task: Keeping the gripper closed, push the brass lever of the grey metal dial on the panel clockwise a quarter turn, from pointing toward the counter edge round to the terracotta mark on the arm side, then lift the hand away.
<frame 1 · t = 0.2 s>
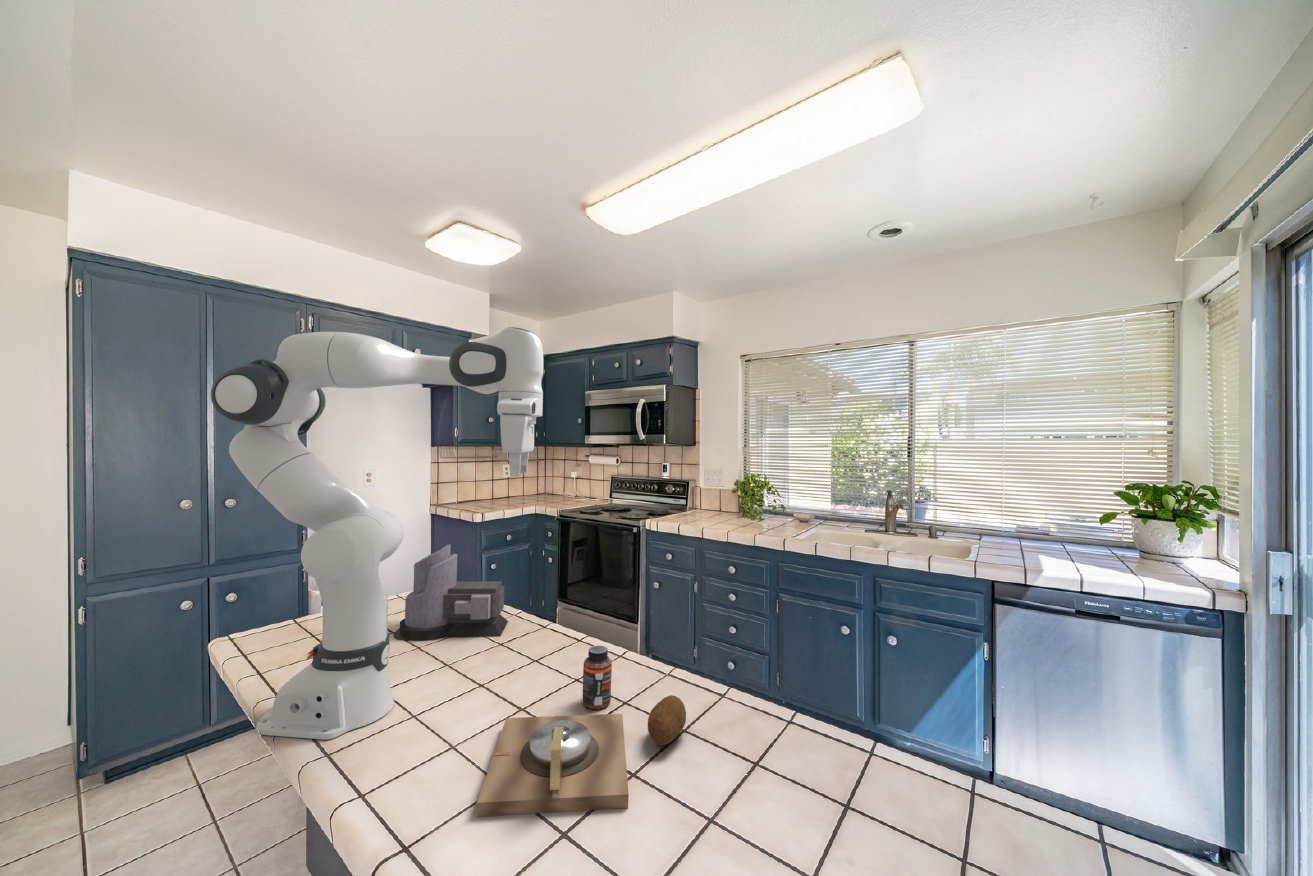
hand: (519, 474, 101), 48 cm above the countertop, fingers open, 8 cm apart
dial: (559, 739, 81), point 5 cm above the countertop, hinge at 0.0°
potato: (666, 739, 91), on the countertop
supplement bottle: (596, 704, 102), on the countertop
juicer: (451, 630, 141), on the countertop
panel: (559, 763, 83), on the countertop
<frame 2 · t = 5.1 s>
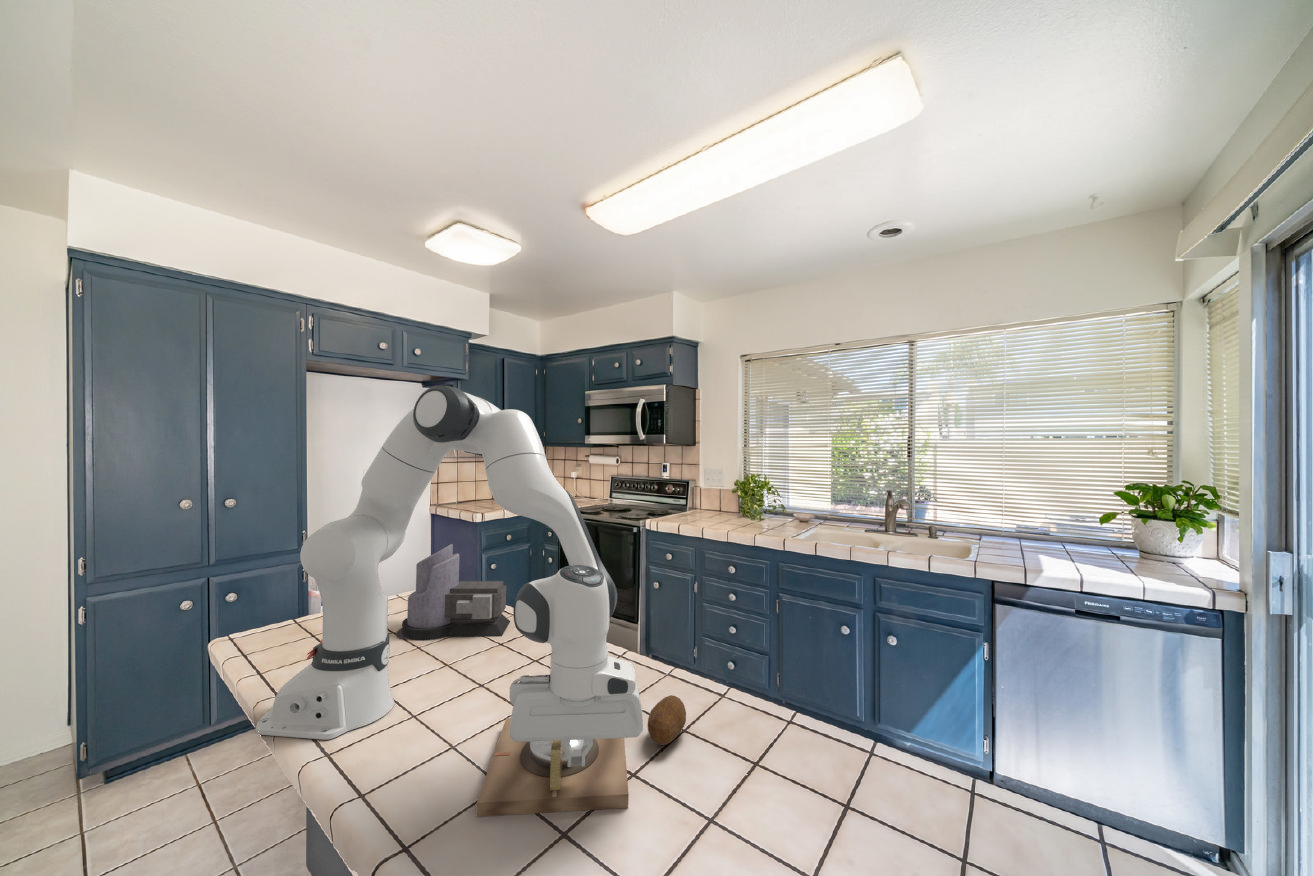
hand: (576, 764, 75), 5 cm above the countertop, fingers closed
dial: (559, 739, 81), point 5 cm above the countertop, hinge at -0.1°, touching gripper
everything else where it was.
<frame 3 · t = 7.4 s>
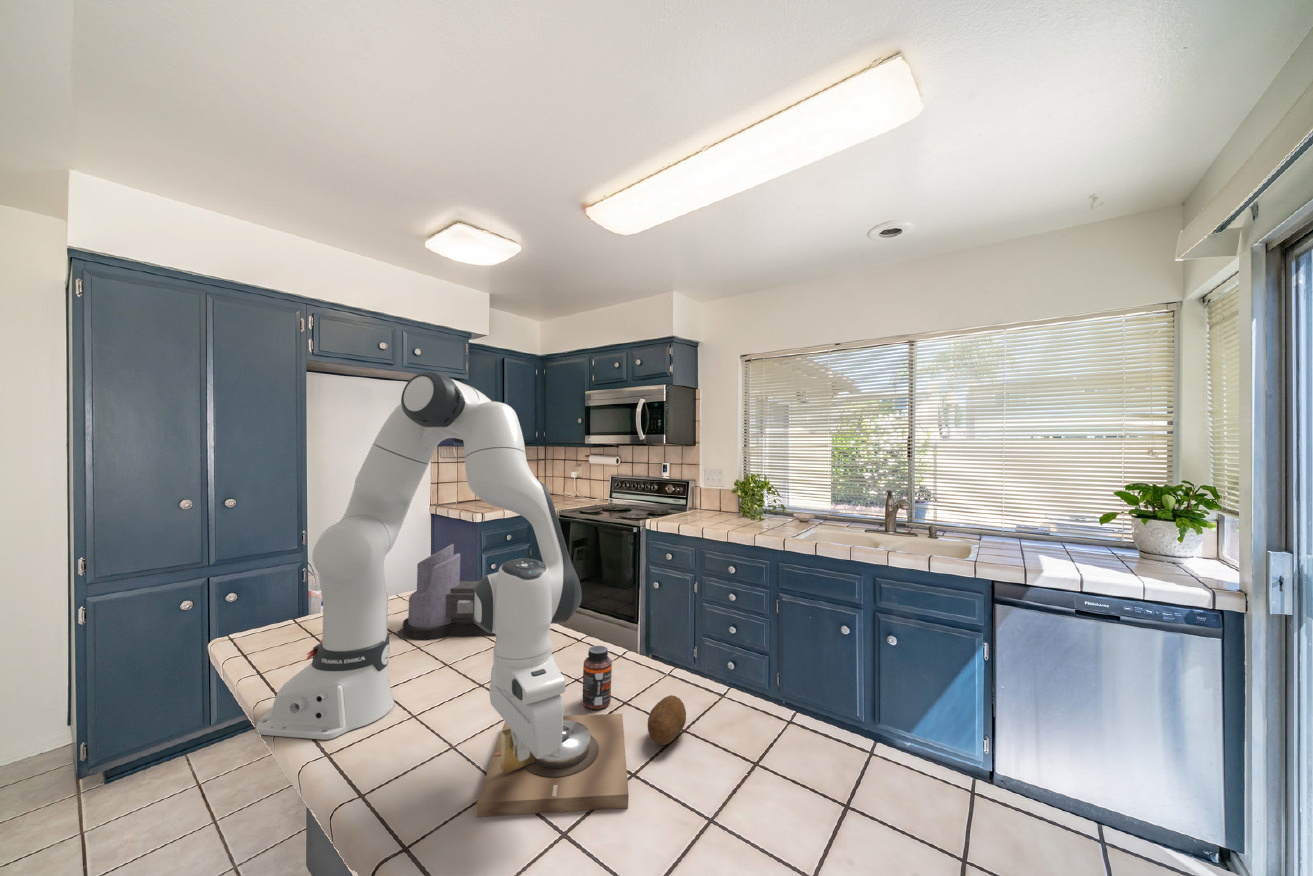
hand: (521, 756, 76), 5 cm above the countertop, fingers closed
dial: (547, 736, 81), point 5 cm above the countertop, hinge at -58.4°, touching gripper
everything else where it was.
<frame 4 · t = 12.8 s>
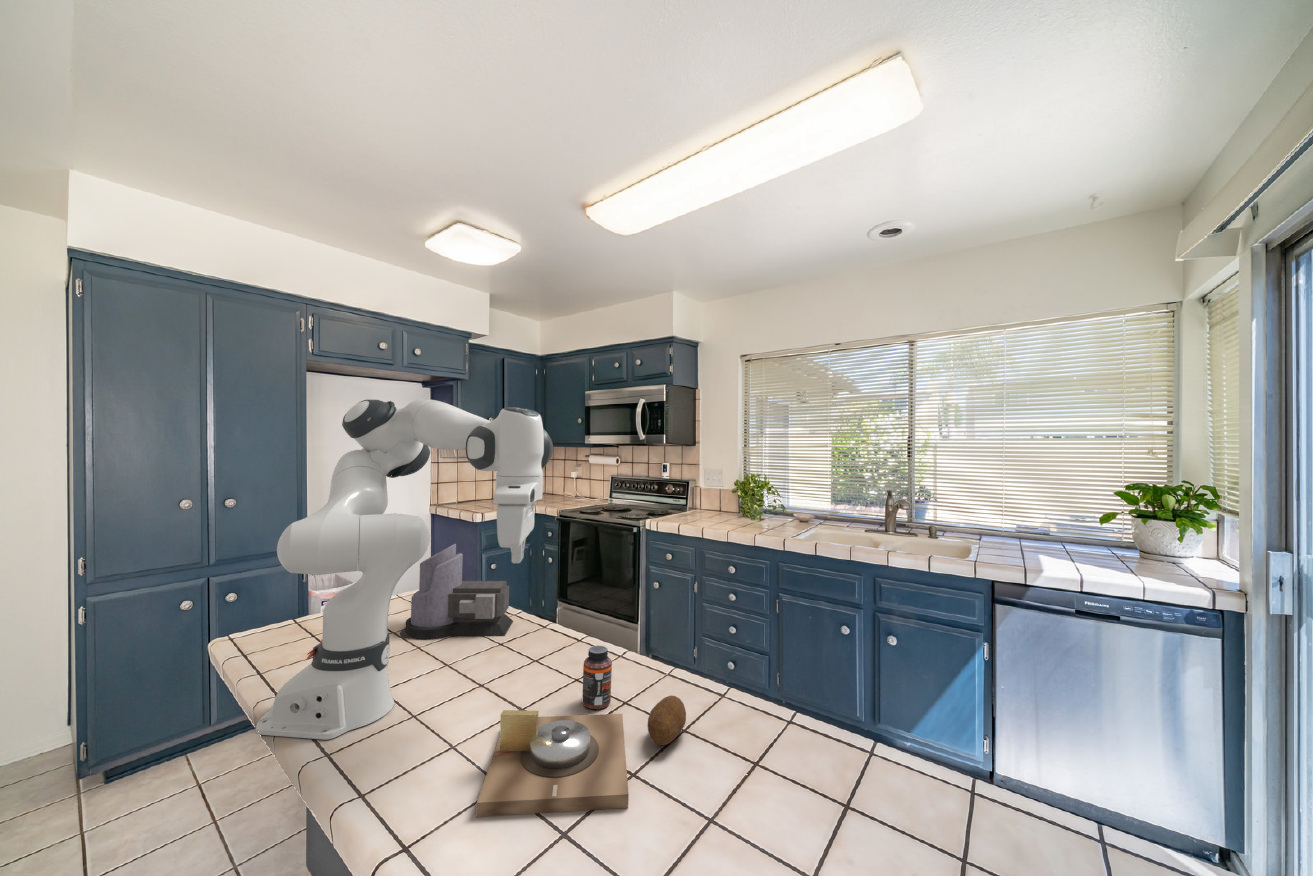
hand: (517, 561, 95), 31 cm above the countertop, fingers closed
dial: (545, 730, 83), point 5 cm above the countertop, hinge at -95.1°
at the end: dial at -95° (first picture: +0°) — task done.
